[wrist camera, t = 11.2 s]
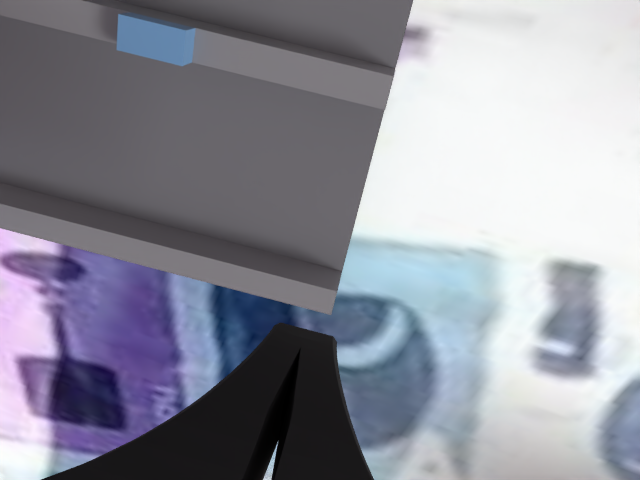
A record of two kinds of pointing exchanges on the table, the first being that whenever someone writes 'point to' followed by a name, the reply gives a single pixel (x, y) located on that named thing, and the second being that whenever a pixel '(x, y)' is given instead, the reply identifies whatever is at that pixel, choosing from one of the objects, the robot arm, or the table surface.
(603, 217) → the table surface
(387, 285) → the table surface
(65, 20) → the board
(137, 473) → the robot arm
